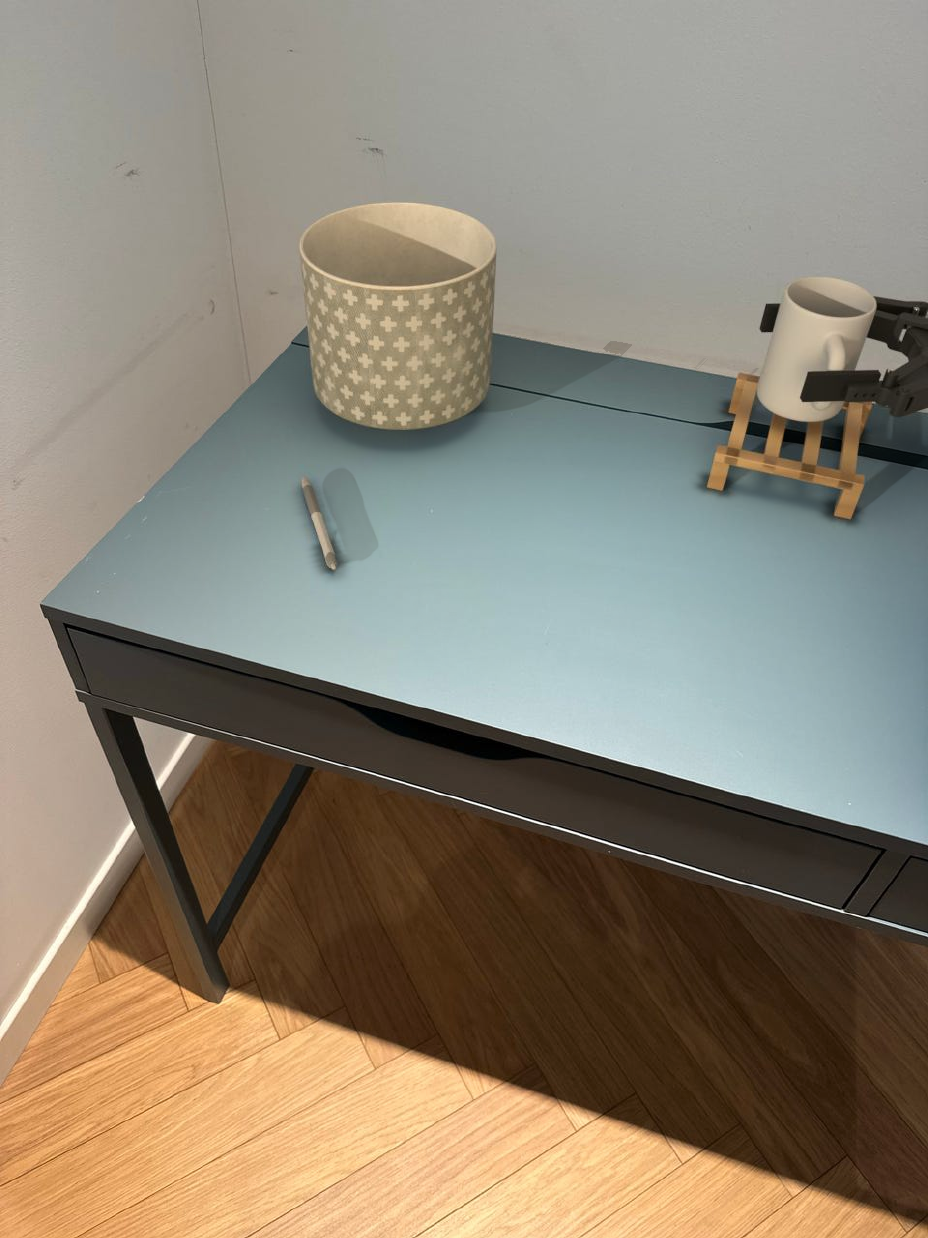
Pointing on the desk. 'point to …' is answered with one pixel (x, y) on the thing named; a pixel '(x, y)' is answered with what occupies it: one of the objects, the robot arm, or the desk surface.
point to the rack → (808, 465)
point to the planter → (399, 313)
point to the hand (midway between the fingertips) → (783, 350)
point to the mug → (813, 343)
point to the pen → (319, 523)
